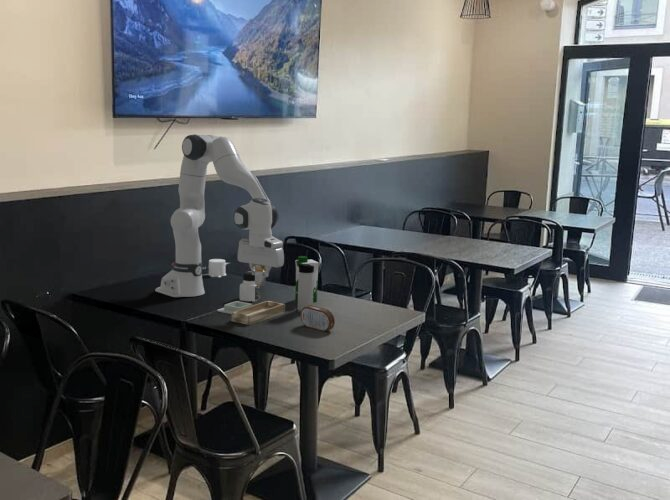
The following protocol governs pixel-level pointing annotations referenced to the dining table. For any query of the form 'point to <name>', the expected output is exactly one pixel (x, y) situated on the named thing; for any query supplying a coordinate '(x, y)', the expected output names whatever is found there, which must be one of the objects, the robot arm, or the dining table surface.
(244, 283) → the medicine bottle
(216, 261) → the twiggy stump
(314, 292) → the milk carton
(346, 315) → the dining table surface
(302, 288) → the travel mug
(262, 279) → the cell
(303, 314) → the tin
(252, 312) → the trough
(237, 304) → the checker cradle
